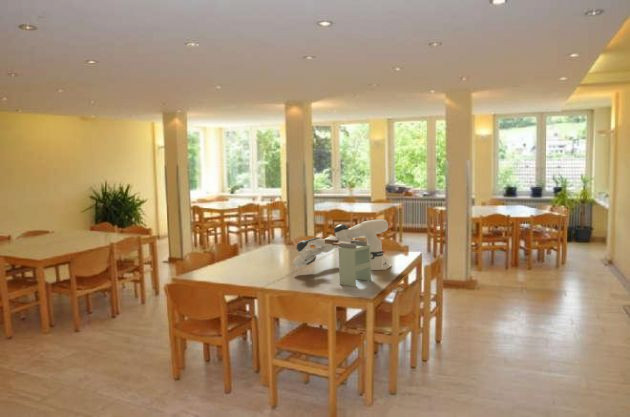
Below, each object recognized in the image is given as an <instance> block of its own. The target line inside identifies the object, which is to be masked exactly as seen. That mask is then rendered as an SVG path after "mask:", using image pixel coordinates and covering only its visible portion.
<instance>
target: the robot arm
mask: <svg viewBox="0 0 630 417" xmlns="http://www.w3.org/2000/svg"><path fill="white" fill-rule="evenodd" d="M388 230H389V223H388V221H387V220H386V219H382V218H379V219H371V220H365V221H362V222H360V223H358V224H354V225H353V226H351V227H349V226H348V225H346V224H345V223H344V224H343V223H342V224H337V225H336V226H335V227H334V229H333V232H334V234H335V235H331V236H328V237H326V238H321V237H315V238H310V239H306V240H300V241H299V242H298V243H296V250H297V252H298V253H299V254H298V255H297V256H296V257H295V258H294V259H293V265H294V266H295V267H296V268H298V269H299V268H301V267H303V266H308V265H310V264H312V263H313V262H315V261H316V259H317V255H321V254H323V253H327V254H328V253H330V252H331V251H333V250H334V249H336V248H339V247H340V246H335V245H332V244H325V239H335V240H339V241H345V242H351V240H353V239H358V237H366V240H367V244H369V245H370V256H371V271H384V270H385V271H386V270H387V269H389V268H391V267H393V265H392V264H390V263H389V258H388V257H387V256H385V255H384V254H385V253H386V251H385V250H383V245H382V244H383V243H382V242H383V241H382V240H381V239H380V238H379V237H378V236H377V235H378V234H382V233H384V232H386V231H388ZM312 245H314V248H311V246H312Z"/></svg>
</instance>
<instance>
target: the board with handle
mask: <svg viewBox="0 0 630 417" xmlns="http://www.w3.org/2000/svg"><path fill="white" fill-rule="evenodd" d="M324 239H325V238H324ZM340 243H351V244H353V242H345V241H339V240H335V239H325V244H332V245H335V246H337V247H339V246H340Z"/></svg>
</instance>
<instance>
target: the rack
mask: <svg viewBox="0 0 630 417" xmlns="http://www.w3.org/2000/svg"><path fill="white" fill-rule="evenodd" d="M357 239H358V240H357ZM357 239H356V240H355V239H352V240H351V242H353V244H351V243H340V247H339V246H338V247H337V248H338V267H339V268H338V273H339V274H338V275H339V285H344V286H350V287H356V286H357V280H362V281H368V282H371V281H372V270H371V256H370V245H369V244H367V239H366V237H358V238H357Z"/></svg>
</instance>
